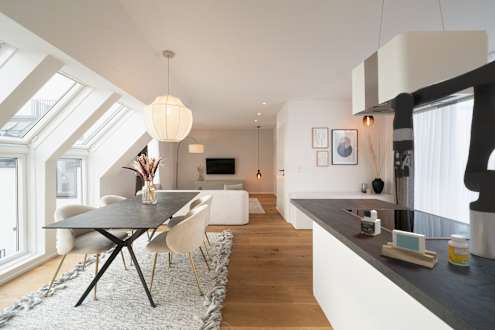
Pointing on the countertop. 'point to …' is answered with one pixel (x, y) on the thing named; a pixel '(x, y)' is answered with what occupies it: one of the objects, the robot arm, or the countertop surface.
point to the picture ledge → (410, 255)
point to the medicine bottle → (370, 223)
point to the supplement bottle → (458, 250)
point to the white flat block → (409, 241)
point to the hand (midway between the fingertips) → (403, 177)
